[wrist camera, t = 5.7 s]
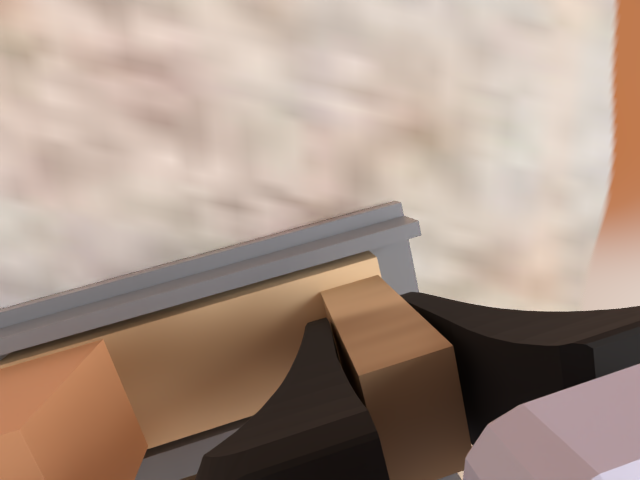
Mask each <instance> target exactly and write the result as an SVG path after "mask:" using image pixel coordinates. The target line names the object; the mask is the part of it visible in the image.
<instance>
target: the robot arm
mask: <svg viewBox="0 0 640 480" xmlns="http://www.w3.org/2000/svg"><path fill="white" fill-rule="evenodd" d="M400 296H401V297H402V298H403V299H404V300H405V301H406V302H407V303H408V304H409V305H410V306H412V307H413V308H414V309H415V310H416V311H417V312H418V313H419V314H420V315H421V316H422V317H423V318H424V319H425V320H426V321H428V322H429V323H430V324H431V325H432V326H433V327H434V328H435V329H436V330H437V331H438V332H439V333H440V334H441V335H442V336H443V337H445V338H446V339H447V340H448V341H449V342H450V343H451V344H452V345H453V347H454V353H455V358H456V364H457V369H458V375H459V380H460V386H461V391H462V397H463V402H464V408H465V413H466V419H467V424H468V430H469V435H470V441H471V444H472V445H473V446H472V448H471V449H470V451H469V452H468V454H467V456H466V458H465V466H464V476H463V480H640V306H637V307H629V308H621V309H609V310H594V311H573V312H543V311H521V310H510V309H500V308H492V307H486V306H480V305H474V304H469V303H464V302H459V301H455V300H450V299H446V298H442V297H437V296H433V295H429V294H424V293H419V292H409V293H405V294H402V295H400ZM195 480H390V478H389V474H388V470H387V466H386V462H385V458H384V454H383V450H382V446H381V442H380V438H379V435H378V432H377V429H376V427H375V425H374V422H373V420H372V418H371V416H370V413H369V411H368V409H367V408H366V407H365V406H364V405H363V403H362V402H361V401H360V399H359V398H358V396H357V395H356V393H355V392H354V390H353V388H352V386H351V385H350V383H349V381H348V379H347V377H346V375H345V373H344V371H343V369H342V367H341V364H340V360H339V356H338V352H337V349H336V345H335V341H334V337H333V333H332V330H331V326H330V322H329V321H328V319H327V318H326V317H325V318H322V319H319V320H315V321H312V322H309V323H307V325H306V326H305V331H304V336H303V339H302V342H301V345H300V348H299V350H298V353H297V355H296V358H295V360H294V362H293V364H292V366H291V368H290V370H289V372H288V374H287V375H286V377H285V379H284V381H283V382H282V384H281V385H280V386H279V388H278V389H277V390H276V392H275V393H274V394H273V395H272V396H271V397H270V399H269V400H268V401H267V402H266V403H265V404H264V406H263V407H262V408H261V409H260V410H259V411H258V412H257V413H256V414H255V415H254V416H253V417H252V418H251V419H250V420H248V421H247V422H246V423H245V424H244V425H243V426H242V427H241V428H239V429H238V430H237V431H236V432H235V433H233V434H232V435H231V436H229V437H228V438H227V439H225V440H224V441H223V442H221V443H220V444H218V445H217V446H216V447H214V448H213V449H212V450H210V451H209V452H207V453H206V454H204V455H203V457H202V460H201V464H200V467H199V469H198V472H197V475H196V477H195Z"/></svg>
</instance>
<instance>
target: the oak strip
mask: <svg viewBox="0 0 640 480" xmlns="http://www.w3.org/2000/svg"><path fill="white" fill-rule="evenodd" d="M325 317H326V318H327V319H328V321H329V322H330V326H331V330H332V333H333V337H334V341H335V345H336V349H337V352H338V356H339V360H340V364H341V367H342V369H343V371H344V373H345V375H346V377H347V379H348V381H349V383H350V385H351V386H352V388H353V390H354V392H355V393H356V395H357V396H358V398H359V399H360V401H361V402H362V403H363V405H364V406H365V407H366V408H367V409H368V411H369V413H370V416H371V418H372V420H373V422H374V425H375V427H376V429H377V432H378V435H379V438H380V442H381V446H382V450H383V454H384V458H385V462H386V466H387V470H388V474H389V478H390V480H438V479H441V478H443V477H446V476H449V475H452V474H455V473H457V472H460V471H463V470H464V466H465V458H466V456H467V454H468V452H469V451H470V449H471V448H472V446H471V441H470V435H469V430H468V424H467V419H466V413H465V408H464V402H463V397H462V391H461V386H460V380H459V375H458V369H457V364H456V358H455V353H454V347H453V345H452V344H451V343H450V342H449V341H448V340H447V339H446V338H445V337H443V336H442V335H441V334H440V333H439V332H438V331H437V330H436V329H435V328H434V327H433V326H432V325H431V324H430V323H429V322H428V321H426V320H425V319H424V318H423V317H422V316H421V315H420V314H419V313H418V312H417V311H416V310H415V309H414V308H413V307H412V306H410V305H409V304H408V303H407V302H406V301H405V300H404V299H403V298H402V297H401V296H400V295H399V294H398V293H397V292H396V291H395V290H393V289H392V288H391V287H390V286H389V285H388V284H387V283H386V282H385V281H384V280H383V279H382V278H381V273H380V269H379V264H378V260H377V257H376V256H375V255H374V254H372V253H371V252H370V251H369V250H368V251H365V252H361V253H358V254H354V255H351V256H347V257H344V258H340V259H337V260H333V261H330V262H326V263H323V264H319V265H316V266H312V267H309V268H305V269H302V270H298V271H295V272H291V273H288V274H284V275H281V276H277V277H274V278H270V279H267V280H263V281H260V282H256V283H253V284H249V285H246V286H242V287H239V288H235V289H232V290H228V291H225V292H221V293H218V294H214V295H211V296H207V297H204V298H200V299H197V300H193V301H190V302H186V303H183V304H179V305H176V306H172V307H169V308H165V309H162V310H158V311H155V312H151V313H148V314H144V315H141V316H137V317H134V318H130V319H127V320H123V321H120V322H116V323H113V324H109V325H105V326H102V327H98V328H95V329H91V330H88V331H84V332H81V333H77V334H74V335H70V336H67V337H63V338H60V339H56V340H53V341H49V342H46V343H42V344H39V345H35V346H32V347H28V348H25V349H21V350H18V351H14V352H11V353H10V354H8V355H7V356H6V357H4V358H3V359H2V360H0V369H2V368H5V367H9V366H12V365H16V364H19V363H22V362H26V361H29V360H33V359H36V358H40V357H43V356H47V355H50V354H54V353H57V352H61V351H64V350H68V349H71V348H74V347H78V346H81V345H85V344H88V343H92V342H95V341H99V340H102V339H103V340H104V342H105V345H106V347H107V350H108V352H109V354H110V357H111V359H112V361H113V364H114V366H115V368H116V371H117V373H118V376H119V378H120V380H121V383H122V385H123V387H124V390H125V392H126V395H127V397H128V399H129V402H130V404H131V406H132V409H133V411H134V414H135V416H136V418H137V421H138V423H139V425H140V428H141V430H142V432H143V435H144V437H145V440H146V442H147V444H148V448H147V449H150V448H153V447H156V446H159V445H162V444H165V443H169V442H172V441H175V440H178V439H181V438H184V437H187V436H190V435H193V434H197V433H200V432H203V431H206V430H209V429H212V428H215V427H218V426H222V425H225V424H228V423H231V422H234V421H237V420H240V419H243V418H247V417H250V416H253V415H255V414H256V413H257V412H258V411H259V410H260V409H261V408H262V407H263V406H264V404H265V403H266V402H267V401H268V400H269V399H270V397H271V396H272V395H273V394H274V393H275V392H276V390H277V389H278V388H279V386H280V385H281V384H282V382H283V381H284V379H285V377H286V375H287V374H288V372H289V370H290V368H291V366H292V364H293V362H294V360H295V358H296V355H297V353H298V350H299V348H300V345H301V342H302V339H303V336H304V331H305V326H306V325H307V323H309V322H312V321H315V320H319V319H322V318H325Z"/></svg>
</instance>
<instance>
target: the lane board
mask: <svg viewBox="0 0 640 480" xmlns="http://www.w3.org/2000/svg"><path fill="white" fill-rule="evenodd" d="M417 236H421V231H420V226H419V221H417V220H414V219H412V218H409V217H406V216H404V214H403V209H402V204H401V202H397V201H393V202H390V203H386V204H382V205H379V206H375V207H371V208H368V209H364V210H361V211H357V212H353V213H350V214H346V215H342V216H339V217H335V218H331V219H328V220H324V221H320V222H317V223H313V224H309V225H306V226H302V227H298V228H295V229H291V230H287V231H284V232H280V233H277V234H273V235H269V236H266V237H262V238H258V239H255V240H251V241H247V242H244V243H240V244H236V245H233V246H229V247H225V248H222V249H218V250H214V251H211V252H207V253H203V254H200V255H196V256H193V257H189V258H185V259H182V260H178V261H174V262H171V263H167V264H163V265H160V266H156V267H152V268H149V269H145V270H141V271H138V272H134V273H130V274H127V275H123V276H120V277H116V278H112V279H109V280H105V281H101V282H98V283H94V284H90V285H87V286H83V287H79V288H76V289H72V290H68V291H65V292H61V293H57V294H54V295H50V296H46V297H43V298H39V299H36V300H32V301H28V302H25V303H21V304H17V305H14V306H10V307H6V308H3V309H0V360H2V359H3V358H4V357H6V356H7V355H8V354H10V353H11V352H14V351H18V350H21V349H25V348H28V347H32V346H35V345H39V344H42V343H46V342H49V341H53V340H56V339H60V338H63V337H67V336H70V335H74V334H77V333H81V332H84V331H88V330H91V329H95V328H98V327H102V326H105V325H109V324H113V323H116V322H120V321H123V320H127V319H130V318H134V317H137V316H141V315H144V314H148V313H151V312H155V311H158V310H162V309H165V308H169V307H172V306H176V305H179V304H183V303H186V302H190V301H193V300H197V299H200V298H204V297H207V296H211V295H214V294H218V293H221V292H225V291H228V290H232V289H235V288H239V287H242V286H246V285H249V284H253V283H256V282H260V281H263V280H267V279H270V278H274V277H277V276H281V275H284V274H288V273H291V272H295V271H298V270H302V269H305V268H309V267H312V266H316V265H319V264H323V263H326V262H330V261H333V260H337V259H340V258H344V257H347V256H351V255H354V254H358V253H361V252H365V251H368V250H369V251H370V252H371V253H372V254H374V255H375V256H376V257H377V260H378V264H379V269H380V273H381V278H382V279H383V280H384V281H385V282H386V283H387V284H388V285H389V286H390V287H391V288H392V289H393V290H395V291H396V292H397V293H398V294H399V295H402V294H405V293H409V292H419V290H418V285H417V280H416V275H415V270H414V265H413V260H412V255H411V250H410V245H409V239H410V238H414V237H417ZM253 416H254V415H253ZM253 416H250V417H247V418H243V419H240V420H237V421H234V422H231V423H228V424H225V425H222V426H218V427H215V428H212V429H209V430H206V431H203V432H200V433H197V434H193V435H190V436H187V437H184V438H181V439H178V440H175V441H172V442H169V443H165V444H162V445H159V446H156V447H153V448H150V449H147V451H146V453H145V455H144V458H143V460H142V463H141V465H140V468H139V470H138V473H137V475H136V477H135V480H180V479H183V478H186V477H189V476H192V475H195V474H197V472H198V469H199V467H200V464H201V460H202V457H203V455H204V454H206V453H207V452H209V451H210V450H212V449H213V448H214V447H216V446H217V445H218V444H220V443H221V442H223V441H224V440H225V439H227V438H228V437H229V436H231V435H232V434H233V433H235V432H236V431H237V430H238V429H239V428H241V427H242V426H243V425H244V424H245V423H246V422H247V421H248V420H250V419H251V418H252V417H253ZM438 480H461V478H460V477H459V475H458V473H455V474H452V475H449V476H446V477H443V478H441V479H438Z"/></svg>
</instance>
